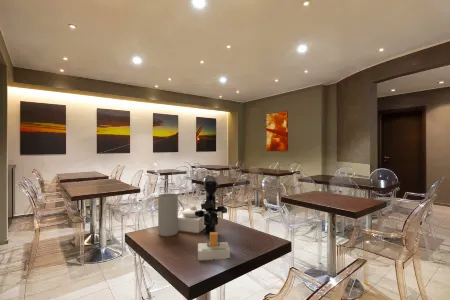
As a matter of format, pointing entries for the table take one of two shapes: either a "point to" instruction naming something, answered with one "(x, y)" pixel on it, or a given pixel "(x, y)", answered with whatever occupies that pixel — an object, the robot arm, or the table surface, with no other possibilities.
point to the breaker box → (213, 251)
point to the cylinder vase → (167, 214)
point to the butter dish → (190, 221)
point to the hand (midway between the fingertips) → (211, 226)
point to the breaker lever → (213, 238)
